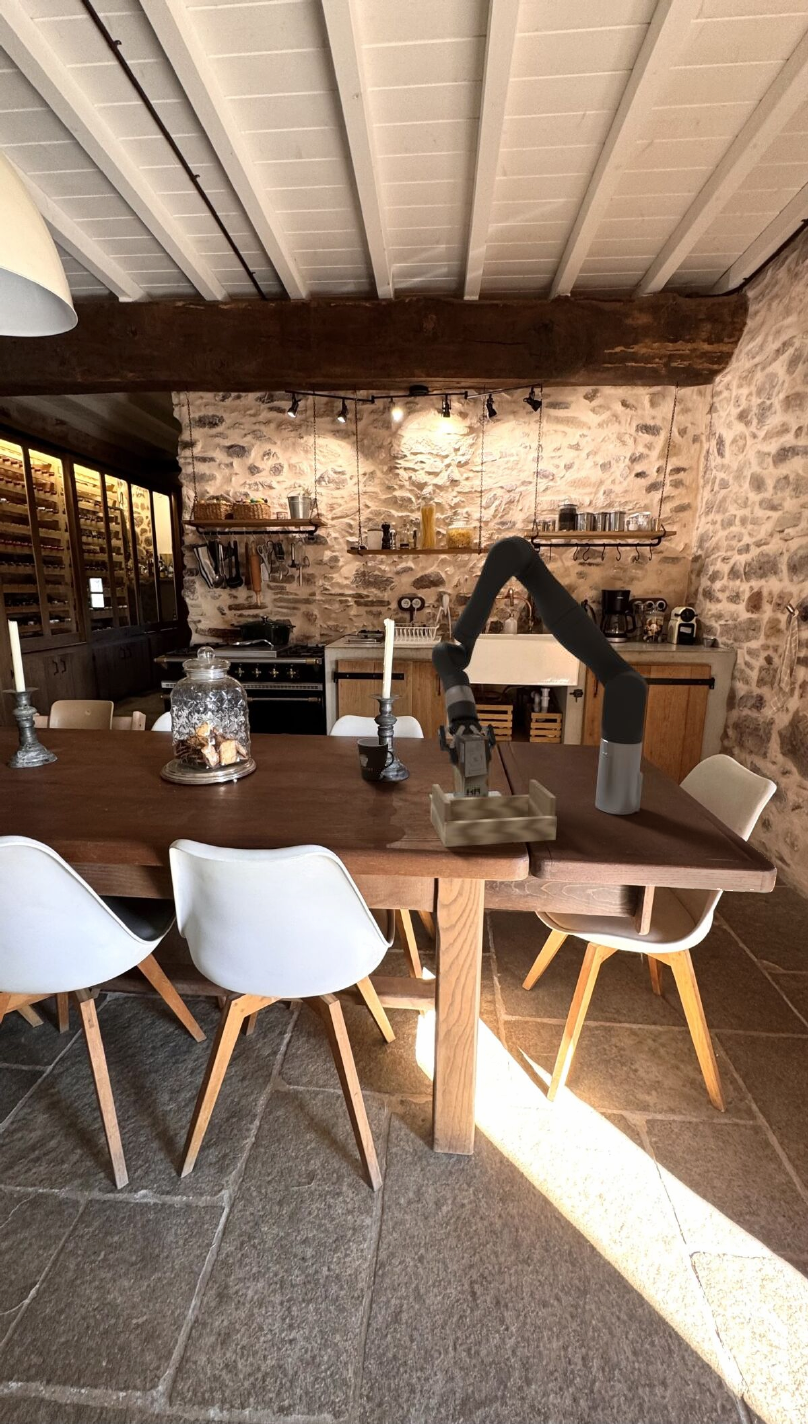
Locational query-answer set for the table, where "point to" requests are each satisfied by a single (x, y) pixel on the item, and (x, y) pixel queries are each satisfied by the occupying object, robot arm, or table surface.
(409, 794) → the table surface
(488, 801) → the wooden crate
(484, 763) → the coffee box
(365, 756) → the coffee mug
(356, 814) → the table surface
